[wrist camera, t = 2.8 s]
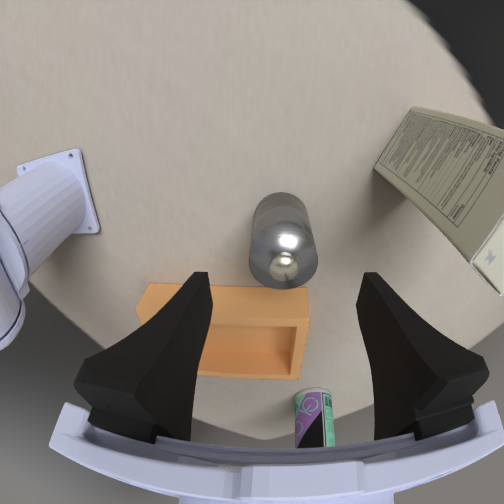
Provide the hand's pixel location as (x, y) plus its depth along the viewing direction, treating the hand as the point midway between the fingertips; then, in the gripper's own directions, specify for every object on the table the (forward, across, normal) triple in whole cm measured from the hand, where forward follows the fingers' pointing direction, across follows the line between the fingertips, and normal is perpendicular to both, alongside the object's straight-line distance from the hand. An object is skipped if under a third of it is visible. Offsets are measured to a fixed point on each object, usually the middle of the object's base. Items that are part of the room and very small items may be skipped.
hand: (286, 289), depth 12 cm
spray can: (+10, -6, +30) cm, 32 cm away
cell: (+9, 0, +1) cm, 9 cm away
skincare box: (+10, -10, -5) cm, 15 cm away
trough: (+9, +5, +13) cm, 17 cm away
